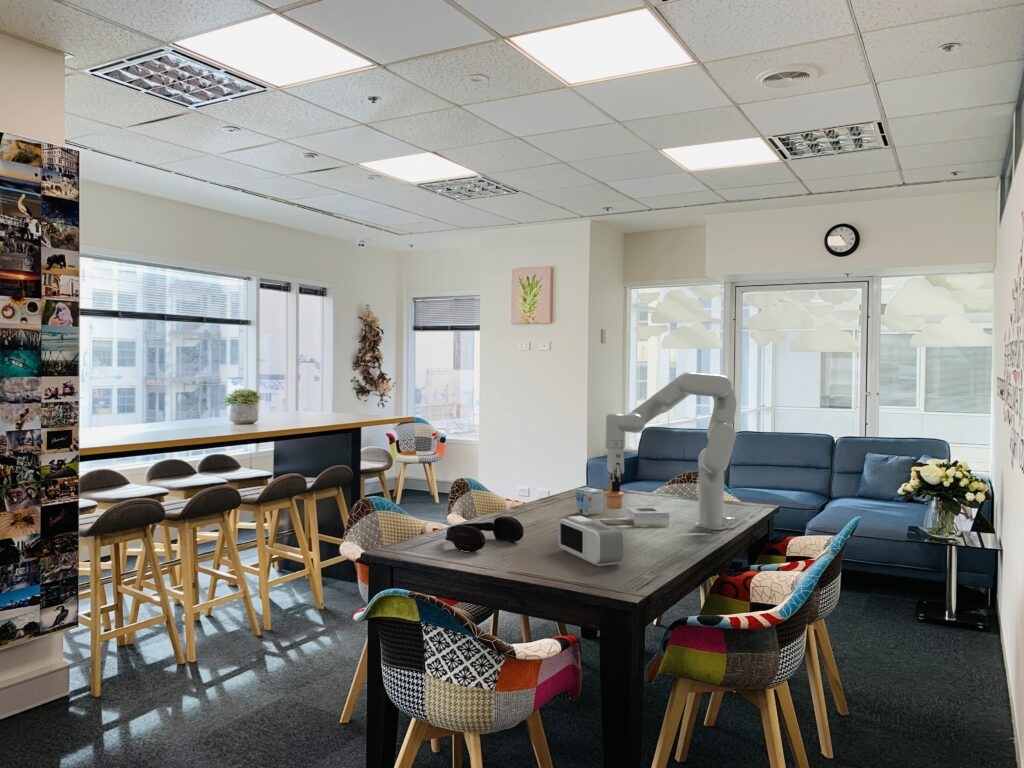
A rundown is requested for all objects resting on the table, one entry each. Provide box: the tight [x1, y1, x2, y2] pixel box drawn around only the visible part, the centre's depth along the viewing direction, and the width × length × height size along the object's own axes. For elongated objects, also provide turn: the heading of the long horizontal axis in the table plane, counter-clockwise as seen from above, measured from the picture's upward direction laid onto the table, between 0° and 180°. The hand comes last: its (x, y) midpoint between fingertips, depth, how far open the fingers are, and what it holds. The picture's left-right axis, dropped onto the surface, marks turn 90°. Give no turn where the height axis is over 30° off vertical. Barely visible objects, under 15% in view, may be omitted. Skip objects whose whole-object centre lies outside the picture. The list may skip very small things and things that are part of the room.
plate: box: [592, 506, 674, 529], centre depth 310 cm, size 28×18×6 cm, turn 96°
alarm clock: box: [557, 515, 624, 567], centre depth 255 cm, size 27×9×12 cm, turn 23°
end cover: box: [604, 479, 625, 510], centre depth 309 cm, size 8×8×11 cm
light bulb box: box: [575, 486, 604, 517], centre depth 333 cm, size 11×7×11 cm, turn 37°
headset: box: [445, 515, 525, 553], centre depth 272 cm, size 28×26×9 cm
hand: (614, 490), depth 309 cm, fingers closed on end cover, 4 cm apart
